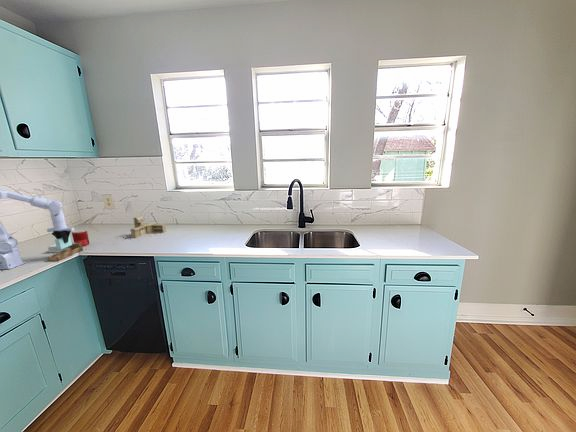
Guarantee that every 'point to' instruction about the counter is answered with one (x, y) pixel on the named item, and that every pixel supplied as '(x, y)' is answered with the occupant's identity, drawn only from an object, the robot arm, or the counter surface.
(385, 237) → the counter surface
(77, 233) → the canned food
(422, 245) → the counter surface
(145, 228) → the toy kitchen set
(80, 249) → the track
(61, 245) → the door panel
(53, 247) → the skincare box
